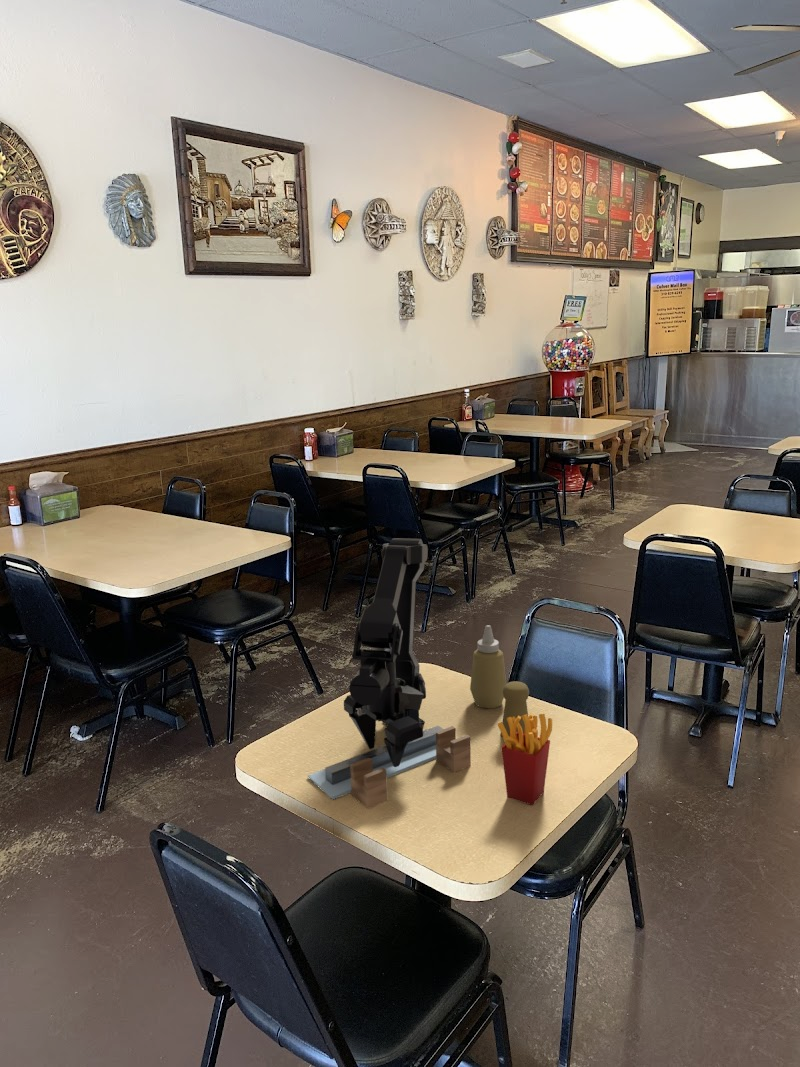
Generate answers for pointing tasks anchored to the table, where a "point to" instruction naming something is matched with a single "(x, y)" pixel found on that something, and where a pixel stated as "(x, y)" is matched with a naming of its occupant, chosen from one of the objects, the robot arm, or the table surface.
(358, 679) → the robot arm
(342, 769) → the rail
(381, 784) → the stand near
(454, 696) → the table surface
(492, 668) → the squeeze bottle
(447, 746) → the stand far
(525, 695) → the pepper mill
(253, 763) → the table surface
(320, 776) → the mat
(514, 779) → the french fries
